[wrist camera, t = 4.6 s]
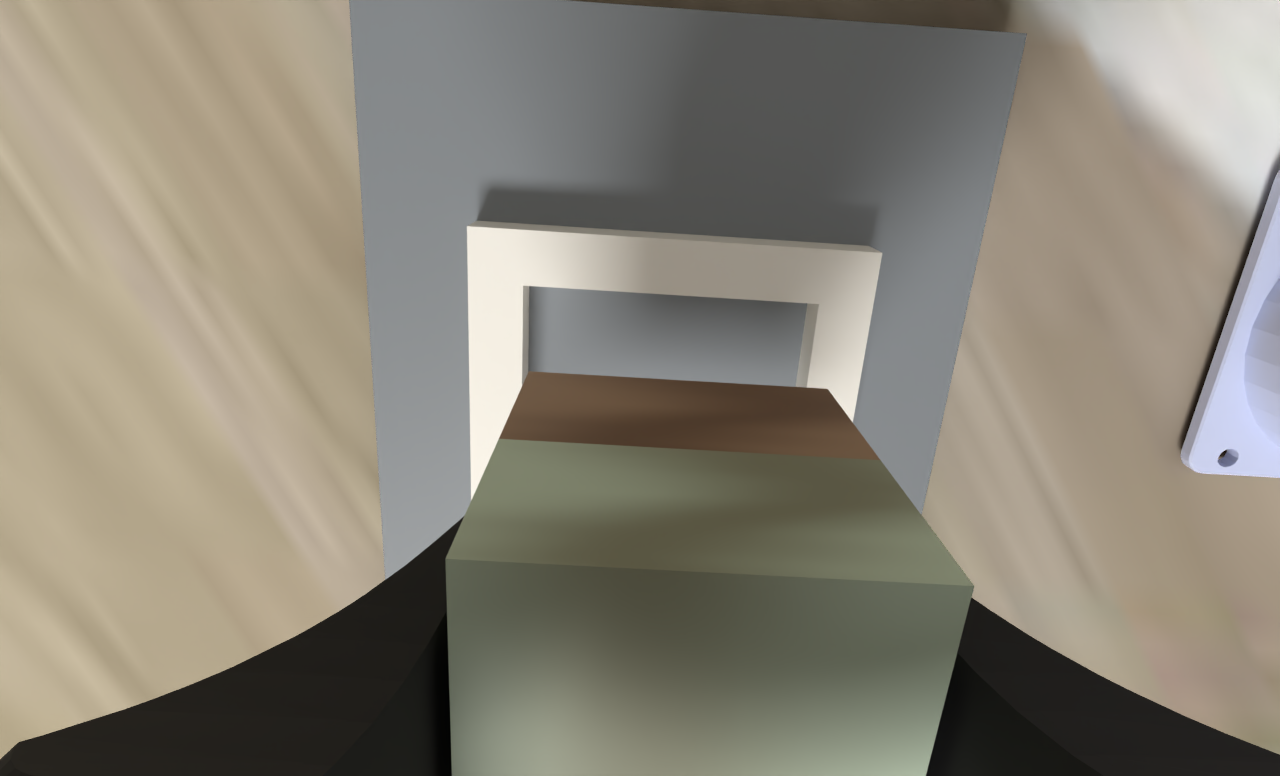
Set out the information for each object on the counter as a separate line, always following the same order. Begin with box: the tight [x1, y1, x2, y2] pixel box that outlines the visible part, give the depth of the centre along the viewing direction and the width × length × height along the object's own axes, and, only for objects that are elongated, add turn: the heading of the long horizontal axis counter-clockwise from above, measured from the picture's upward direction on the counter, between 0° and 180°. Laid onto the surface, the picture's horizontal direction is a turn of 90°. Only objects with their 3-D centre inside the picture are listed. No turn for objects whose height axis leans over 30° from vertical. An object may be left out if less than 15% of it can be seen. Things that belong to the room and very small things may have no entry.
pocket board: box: [349, 0, 1027, 580], centre depth 18 cm, size 14×18×2 cm
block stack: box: [445, 371, 974, 776], centre depth 10 cm, size 5×5×6 cm
